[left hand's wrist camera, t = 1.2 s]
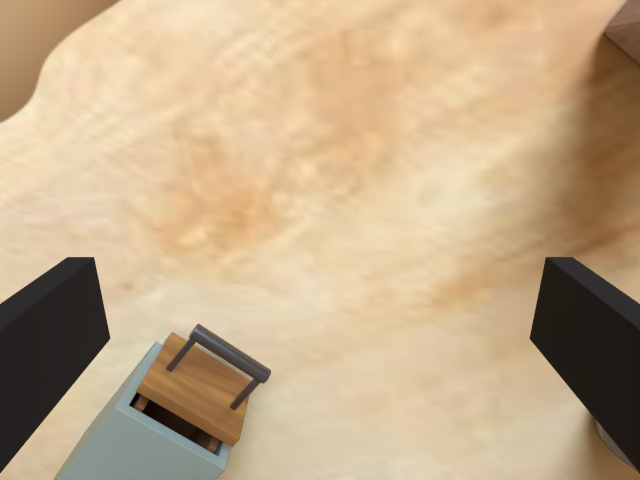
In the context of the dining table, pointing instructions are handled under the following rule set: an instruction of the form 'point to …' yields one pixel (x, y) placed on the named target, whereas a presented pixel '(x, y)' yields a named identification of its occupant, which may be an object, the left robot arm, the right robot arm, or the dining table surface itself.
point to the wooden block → (627, 29)
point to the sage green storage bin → (139, 444)
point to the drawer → (199, 388)
